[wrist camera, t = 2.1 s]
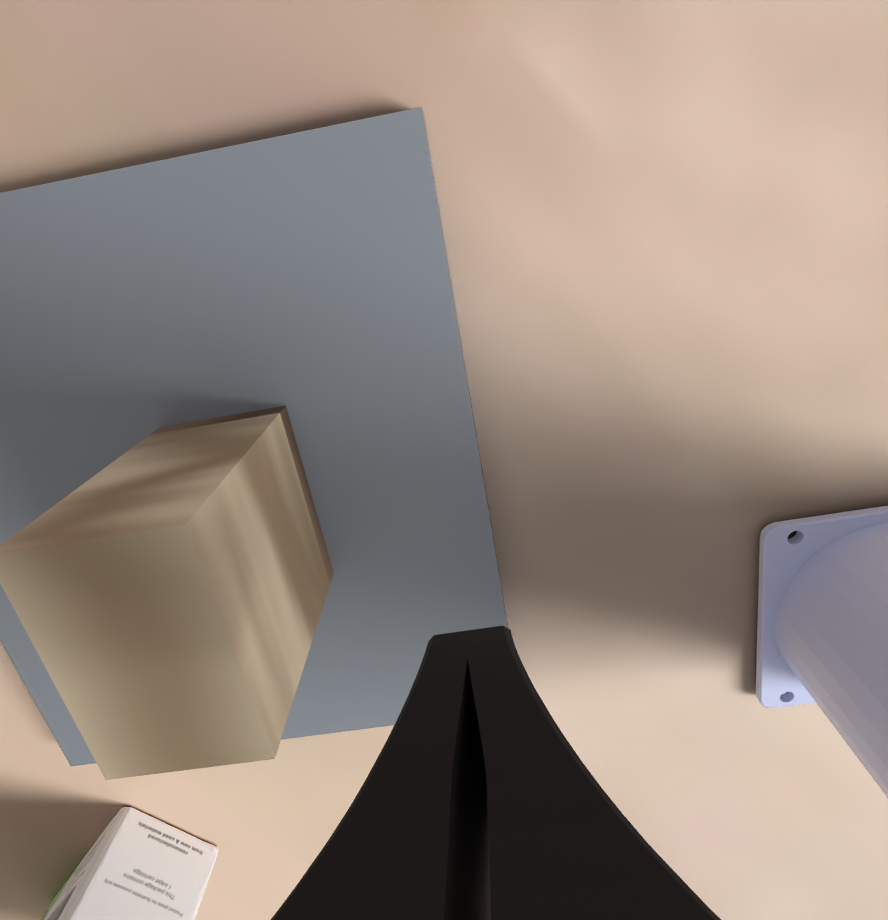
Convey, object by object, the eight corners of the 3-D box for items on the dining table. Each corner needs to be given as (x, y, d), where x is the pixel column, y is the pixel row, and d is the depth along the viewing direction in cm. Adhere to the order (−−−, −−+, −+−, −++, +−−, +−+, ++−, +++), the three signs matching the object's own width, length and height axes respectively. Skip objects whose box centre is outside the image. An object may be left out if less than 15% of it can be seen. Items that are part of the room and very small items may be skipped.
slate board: (423, 112, 16) (421, 107, 15) (518, 689, 24) (520, 708, 23) (-189, 237, 17) (-225, 238, 16) (85, 745, 25) (70, 766, 24)
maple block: (285, 405, 18) (185, 524, 11) (333, 572, 20) (274, 758, 13) (159, 427, 18) (-14, 556, 12) (220, 589, 21) (105, 779, 14)
